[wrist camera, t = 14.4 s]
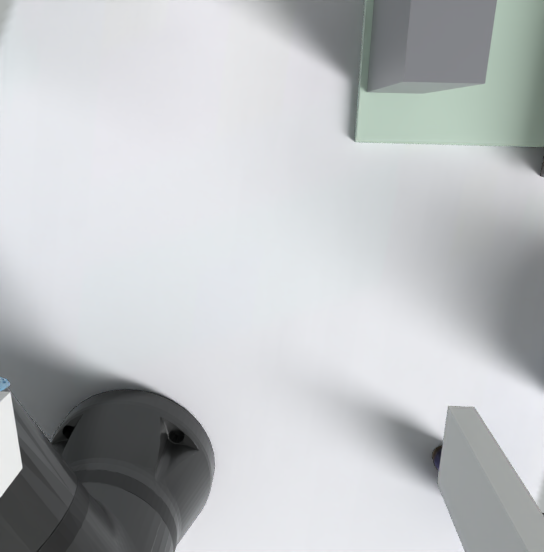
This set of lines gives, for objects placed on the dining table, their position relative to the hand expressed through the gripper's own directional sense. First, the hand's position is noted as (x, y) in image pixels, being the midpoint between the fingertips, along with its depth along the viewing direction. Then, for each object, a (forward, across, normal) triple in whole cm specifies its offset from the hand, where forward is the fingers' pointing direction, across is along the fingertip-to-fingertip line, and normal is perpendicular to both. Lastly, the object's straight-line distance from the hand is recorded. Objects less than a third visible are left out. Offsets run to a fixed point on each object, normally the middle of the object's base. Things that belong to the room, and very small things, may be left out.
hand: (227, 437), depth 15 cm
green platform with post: (+27, -18, -14) cm, 35 cm away
